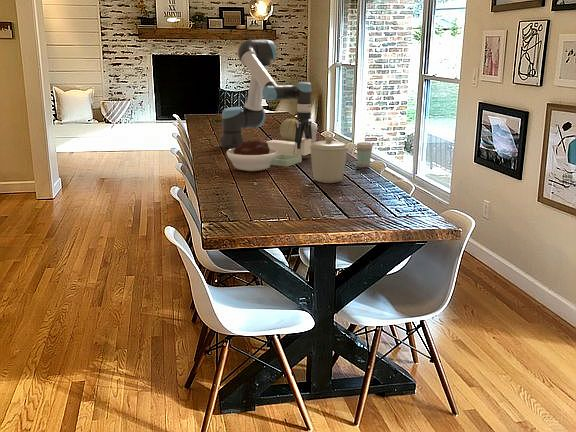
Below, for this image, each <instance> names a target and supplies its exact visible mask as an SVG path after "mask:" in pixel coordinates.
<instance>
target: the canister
mask: <svg viewBox="0 0 576 432" xmlns="http://www.w3.org/2000/svg"><path fill="white" fill-rule="evenodd" d="M309 147H310V149H311V154H310V159H311V167H312V168H311V169H312V177H313V179H314V181H316V182H318V183H321V182H322V183H323V184H334V183H339V182H341V181H342V180H343V178H344V174H345V173H344V172H345V167H346V160H347V153H348V149H349V145H348V144H346V143H345V142H343V141H337V140H334V138H333V136H332V135H326V136H325V137H324V140H318V141H316V142H314V143H312V144H310V145H309Z"/></svg>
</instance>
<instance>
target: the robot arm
mask: <svg viewBox="0 0 576 432" xmlns="http://www.w3.org/2000/svg"><path fill="white" fill-rule="evenodd" d="M237 56H238V59H239V62H240V63H241V64H242V65H243V66H246V68H247V69H248V70H249V72H250V73H251V75H250V80H249V81H250V82H249V87H248V94H247V101H246V102H245V103H244V105H243V108H242V107H241V106H231V107H227V108H224V109H223V110H222V113H221V114H222V115H221V122H222V123H221V124H222V135H221V138H220V142H219V147H220V148H224V149H233V148H236V147H239V146H240V145H241V144H242V142H245V139H244V136H243V129H251V128H252V129H256V128H259V127H262V126H263V125H264V123H265V121H266V111H265V110H264V107H263V105H262V102H263V99H264V100H266V101H281V100H296V101H297V102H296V104H297V105H296V111H297V112H296V120H298V121H299V123H296V133H295V141H294V142H296V143H297V155H301V156H303V155H302V143H301V141H302V138H303V132H304V134H305V138H307V139H311V140H312V129H311V124H313V123H312V120H311V119H312V112H311V111H312V91H313V90H312V84H311V82H308V81H307V82H306V81H301V82H300V81H299V82H298V83H297V85H295V84H284V85H283V84H282V85H278V84H277V83H276V82H275V80H274V79H273V78H272V76H271V75H270V74H269V72H268V71H267V70H268V67H270V66H271V63H272V62H273V61H274V60H276V58H277V48H276V45H275V43H274V41H272V40H269V39H246V40H244V41H243V42H241V43H240V45H239V47H238V49H237Z"/></svg>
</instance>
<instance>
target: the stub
mask: <svg viewBox="0 0 576 432" xmlns="http://www.w3.org/2000/svg"><path fill="white" fill-rule="evenodd" d="M294 142H295V141H294ZM301 143H302V155H301V156H302V157H303V156H307V155H309V154H310V155H311V149H310V147H309V145H310V144H311V139H307V138H303V137H302V141H301ZM294 154H295V155H297V143H296V142H295V152H294Z"/></svg>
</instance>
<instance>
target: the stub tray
mask: <svg viewBox="0 0 576 432" xmlns="http://www.w3.org/2000/svg"><path fill="white" fill-rule="evenodd" d="M302 157H303V155H301V156H297V155H288V154H279V155H276V157H275V159H274V160H273V161H272V162H271V165H270V166H276V167H277V166H279V167H284V168H285V167H286V168H287V167H290V166H293V165H296V164H300V163H302V161H303V159H302Z"/></svg>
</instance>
